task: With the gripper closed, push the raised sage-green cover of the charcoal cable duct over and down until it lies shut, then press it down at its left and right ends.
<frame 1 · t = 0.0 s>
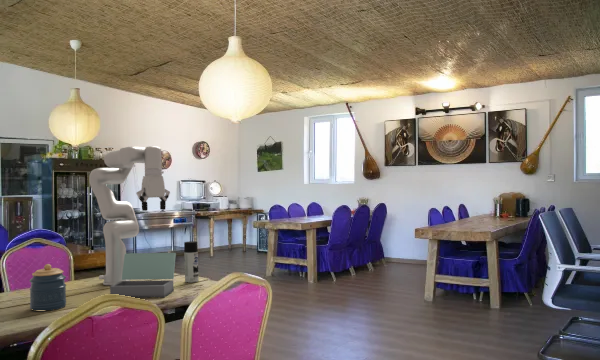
hand: (154, 210, 217), 37 cm above the table, tool pointing down, fingers open, 9 cm apart
canister: (48, 308, 189), on the table
spray can: (191, 281, 236), on the table
duct cover: (148, 266, 217), point 11 cm above the table, hinge at 108.0°
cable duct: (142, 294, 209), on the table
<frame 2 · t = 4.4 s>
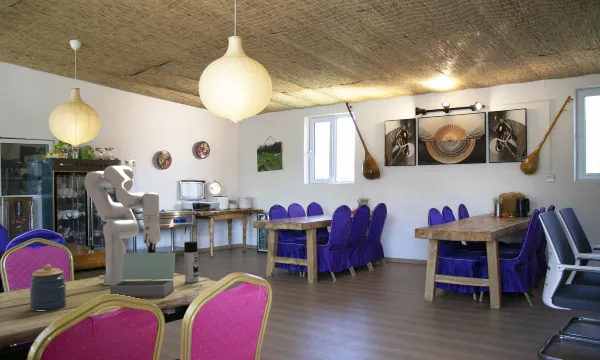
hand: (151, 257, 220), 15 cm above the table, tool pointing down, fingers closed
duct cover: (148, 266, 216), point 11 cm above the table, hinge at 103.2°, touching gripper
everything else where it was.
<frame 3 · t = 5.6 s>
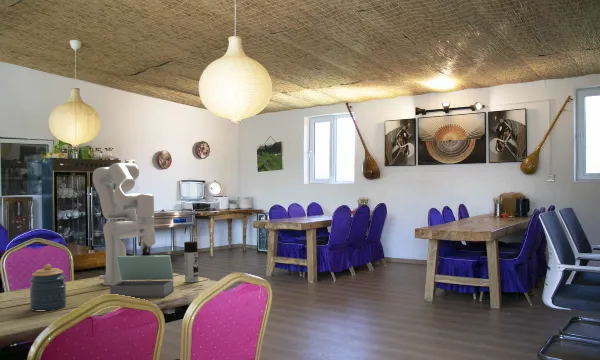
hand: (146, 261, 213), 14 cm above the table, tool pointing down, fingers closed
duct cover: (145, 267, 213), point 11 cm above the table, hinge at 69.3°, touching gripper
everything else where it was.
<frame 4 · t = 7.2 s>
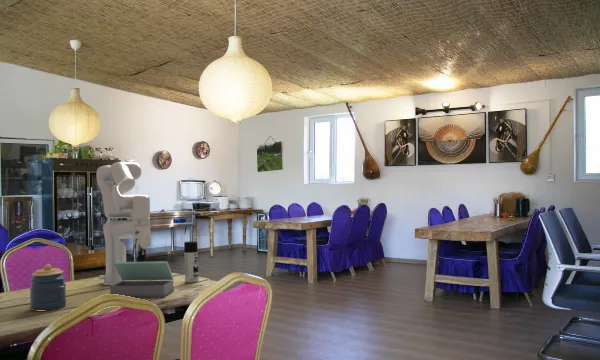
hand: (141, 263, 209), 14 cm above the table, tool pointing down, fingers closed
duct cover: (144, 271, 211), point 10 cm above the table, hinge at 48.3°, touching gripper
everything else where it was.
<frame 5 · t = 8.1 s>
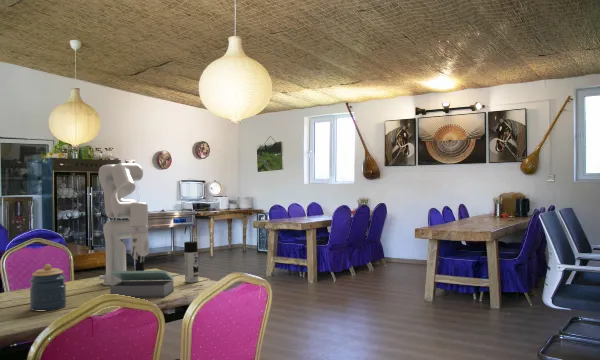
hand: (139, 271, 207), 11 cm above the table, tool pointing down, fingers closed
duct cover: (142, 275, 210), point 8 cm above the table, hinge at 26.2°, touching gripper
everything else where it was.
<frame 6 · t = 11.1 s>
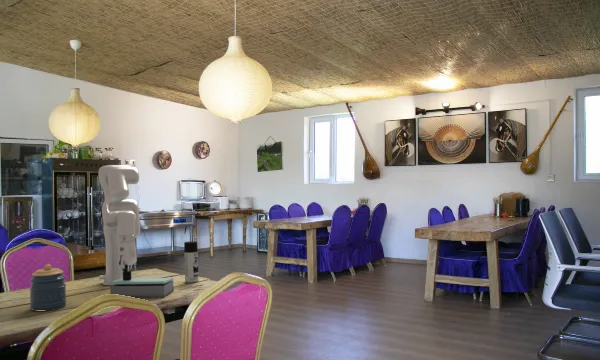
hand: (127, 280, 209), 7 cm above the table, tool pointing down, fingers closed
duct cover: (142, 281, 209), point 6 cm above the table, hinge at 3.9°, touching gripper
everything else where it was.
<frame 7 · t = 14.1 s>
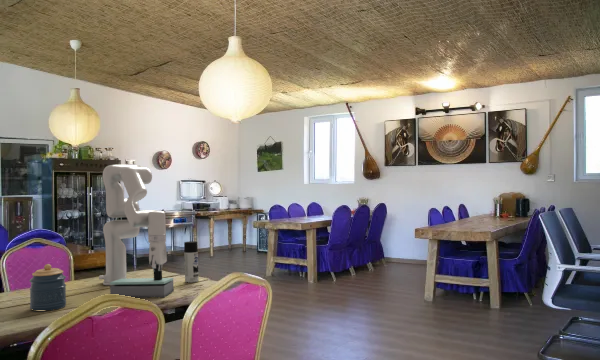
hand: (157, 279, 208), 6 cm above the table, tool pointing down, fingers closed
duct cover: (142, 281, 209), point 6 cm above the table, hinge at 3.4°, touching gripper
everything else where it was.
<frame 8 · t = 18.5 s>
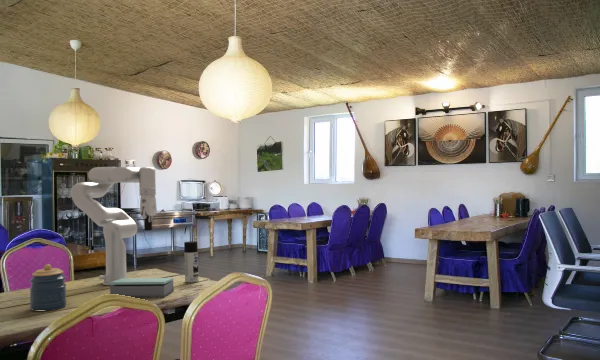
hand: (148, 230, 227), 27 cm above the table, tool pointing down, fingers closed
duct cover: (142, 281, 209), point 6 cm above the table, hinge at 3.3°
everything else where it was.
at the end: duct cover at +3° (first picture: +108°); spray can moved 0.2 cm from its start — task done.
